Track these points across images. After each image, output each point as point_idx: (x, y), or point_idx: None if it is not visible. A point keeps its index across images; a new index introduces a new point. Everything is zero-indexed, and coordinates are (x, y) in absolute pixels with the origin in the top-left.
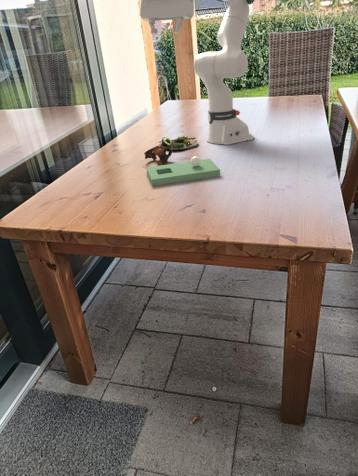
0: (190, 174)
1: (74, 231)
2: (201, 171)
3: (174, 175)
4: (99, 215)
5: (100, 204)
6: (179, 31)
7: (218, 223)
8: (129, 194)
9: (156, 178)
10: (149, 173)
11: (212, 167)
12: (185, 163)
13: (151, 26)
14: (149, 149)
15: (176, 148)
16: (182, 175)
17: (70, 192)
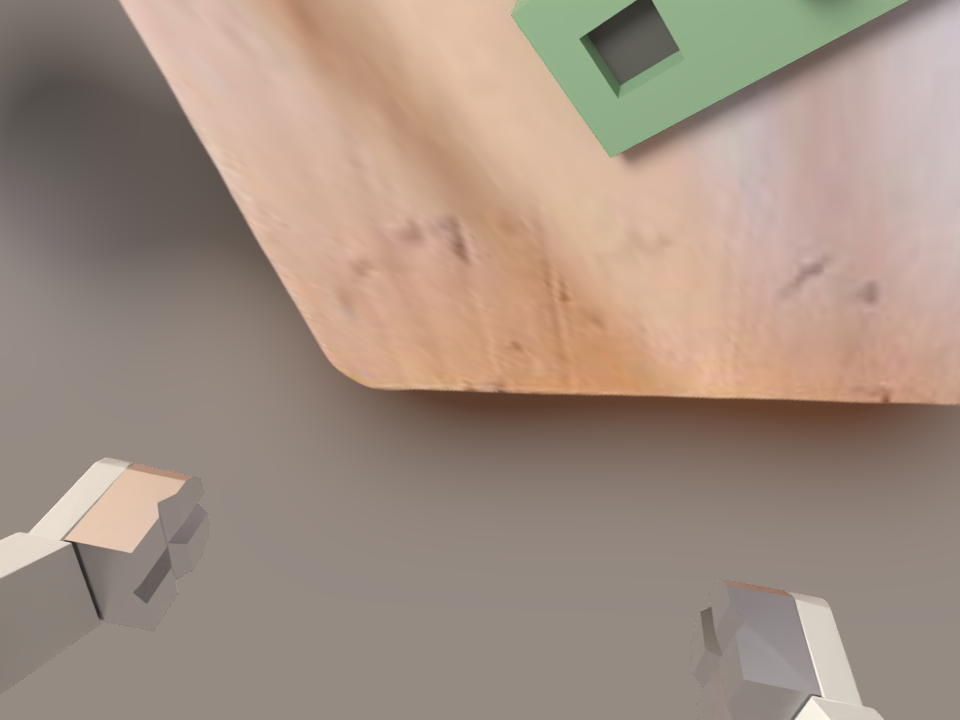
0: (789, 61)
1: (535, 393)
2: (854, 16)
3: (705, 96)
4: (546, 336)
5: (506, 288)
6: (836, 629)
7: (920, 345)
8: (558, 219)
9: (628, 143)
10: (568, 92)
11: None
12: None
13: (52, 639)
14: None
15: None
16: (747, 83)
17: (345, 230)
